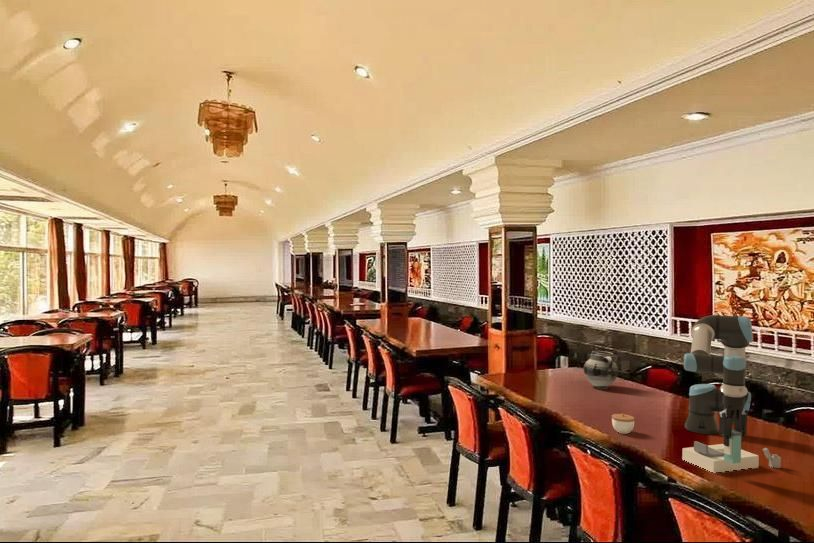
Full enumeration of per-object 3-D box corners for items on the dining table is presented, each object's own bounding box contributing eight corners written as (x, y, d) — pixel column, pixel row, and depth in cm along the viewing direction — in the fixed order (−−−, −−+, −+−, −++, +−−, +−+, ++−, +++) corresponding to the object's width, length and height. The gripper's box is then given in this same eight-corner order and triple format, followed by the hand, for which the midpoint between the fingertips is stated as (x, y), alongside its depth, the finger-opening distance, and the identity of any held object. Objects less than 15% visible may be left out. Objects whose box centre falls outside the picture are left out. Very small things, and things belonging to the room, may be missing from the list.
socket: (725, 454, 240) (725, 443, 240) (758, 467, 225) (758, 455, 225) (682, 459, 233) (682, 448, 233) (713, 473, 218) (713, 461, 218)
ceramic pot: (575, 383, 385) (576, 348, 384) (605, 383, 387) (606, 348, 387) (594, 393, 356) (595, 355, 356) (627, 392, 359) (628, 355, 359)
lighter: (777, 466, 227) (778, 447, 227) (781, 467, 225) (781, 448, 225) (761, 466, 226) (762, 447, 226) (765, 468, 225) (765, 448, 224)
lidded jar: (620, 436, 265) (620, 417, 265) (607, 429, 275) (607, 411, 275) (639, 434, 268) (639, 415, 268) (624, 428, 278) (625, 410, 278)
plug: (731, 458, 217) (732, 429, 217) (740, 462, 213) (741, 432, 213) (723, 459, 216) (724, 430, 215) (732, 463, 212) (733, 433, 212)
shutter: (708, 449, 232) (709, 438, 232) (724, 455, 224) (725, 444, 224) (692, 450, 229) (692, 440, 229) (707, 457, 222) (707, 446, 222)
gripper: (725, 399, 208) (724, 459, 208) (758, 395, 213) (757, 454, 213) (708, 394, 215) (707, 452, 215) (741, 391, 220) (740, 447, 220)
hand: (732, 453), depth 214 cm, fingers closed on plug, 4 cm apart
